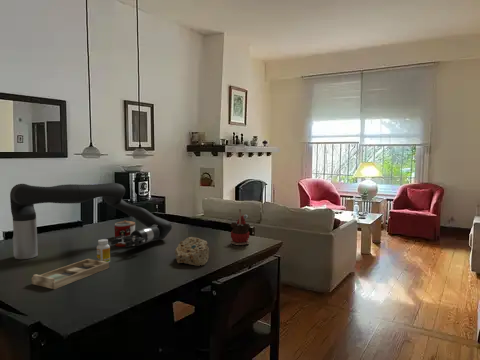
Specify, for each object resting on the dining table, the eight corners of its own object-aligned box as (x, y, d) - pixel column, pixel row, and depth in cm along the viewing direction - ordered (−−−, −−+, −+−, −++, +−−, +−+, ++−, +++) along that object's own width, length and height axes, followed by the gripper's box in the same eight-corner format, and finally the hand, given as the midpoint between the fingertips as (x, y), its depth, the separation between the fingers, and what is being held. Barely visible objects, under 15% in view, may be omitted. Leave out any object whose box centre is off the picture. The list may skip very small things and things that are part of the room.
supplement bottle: (111, 260, 167) (111, 238, 167) (108, 264, 162) (107, 241, 161) (99, 260, 167) (98, 238, 166) (95, 264, 162) (94, 241, 161)
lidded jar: (138, 234, 216) (137, 218, 215) (131, 239, 205) (130, 222, 204) (120, 234, 217) (119, 218, 216) (112, 238, 206) (111, 221, 205)
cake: (226, 244, 195) (226, 209, 193) (235, 240, 203) (235, 207, 201) (245, 247, 190) (245, 211, 188) (253, 242, 198) (253, 208, 196)
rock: (211, 267, 160) (205, 246, 158) (177, 276, 160) (171, 254, 158) (211, 249, 180) (206, 230, 178) (181, 257, 180) (176, 237, 178)
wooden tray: (31, 284, 138) (31, 274, 138) (87, 264, 162) (87, 256, 162) (54, 289, 133) (54, 279, 133) (109, 267, 157) (108, 259, 156)
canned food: (114, 247, 189) (114, 225, 188) (115, 243, 196) (114, 222, 195) (130, 246, 191) (130, 224, 190) (130, 242, 198) (130, 221, 197)
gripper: (130, 227, 190) (106, 234, 175) (153, 230, 184) (130, 237, 169) (131, 242, 191) (107, 250, 176) (154, 245, 184) (131, 253, 170)
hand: (118, 243), depth 173 cm, fingers open, 8 cm apart
